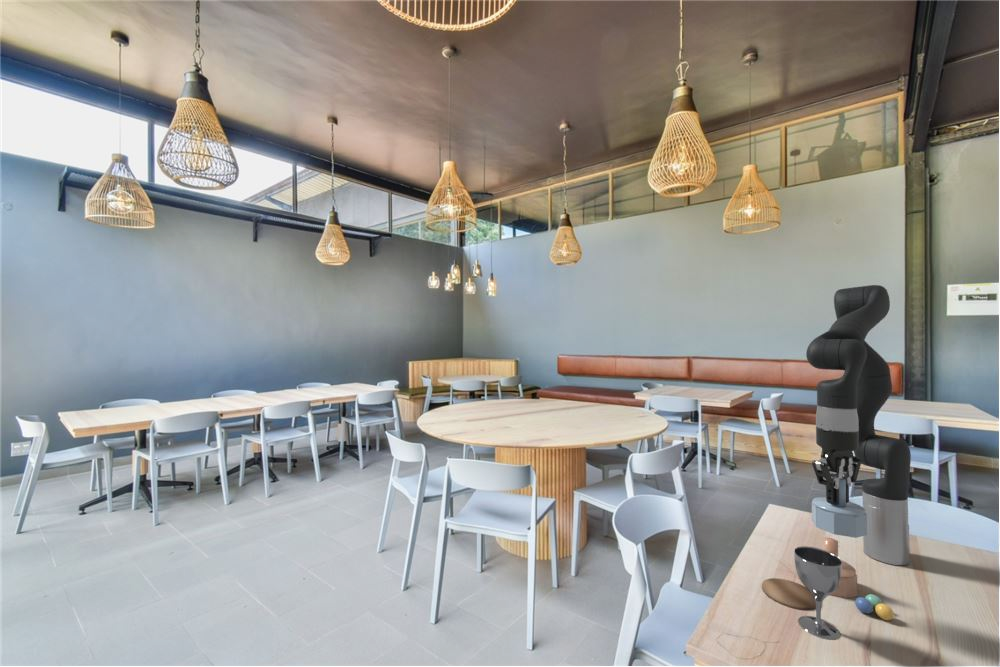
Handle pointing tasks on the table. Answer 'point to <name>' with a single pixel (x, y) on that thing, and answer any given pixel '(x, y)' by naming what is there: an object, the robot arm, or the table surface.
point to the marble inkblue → (864, 605)
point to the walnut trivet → (788, 593)
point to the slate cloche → (839, 515)
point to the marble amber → (884, 611)
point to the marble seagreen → (874, 600)
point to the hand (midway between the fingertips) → (837, 502)
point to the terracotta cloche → (843, 572)
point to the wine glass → (818, 586)
